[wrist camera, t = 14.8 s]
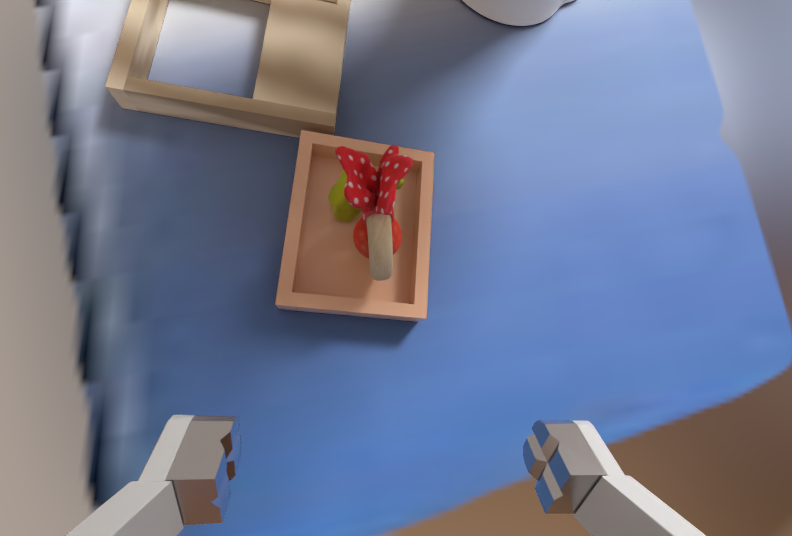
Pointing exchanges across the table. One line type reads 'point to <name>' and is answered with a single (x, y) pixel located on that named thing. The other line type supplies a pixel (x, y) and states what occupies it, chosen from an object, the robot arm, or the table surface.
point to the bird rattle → (371, 204)
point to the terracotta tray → (333, 240)
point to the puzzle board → (276, 79)
